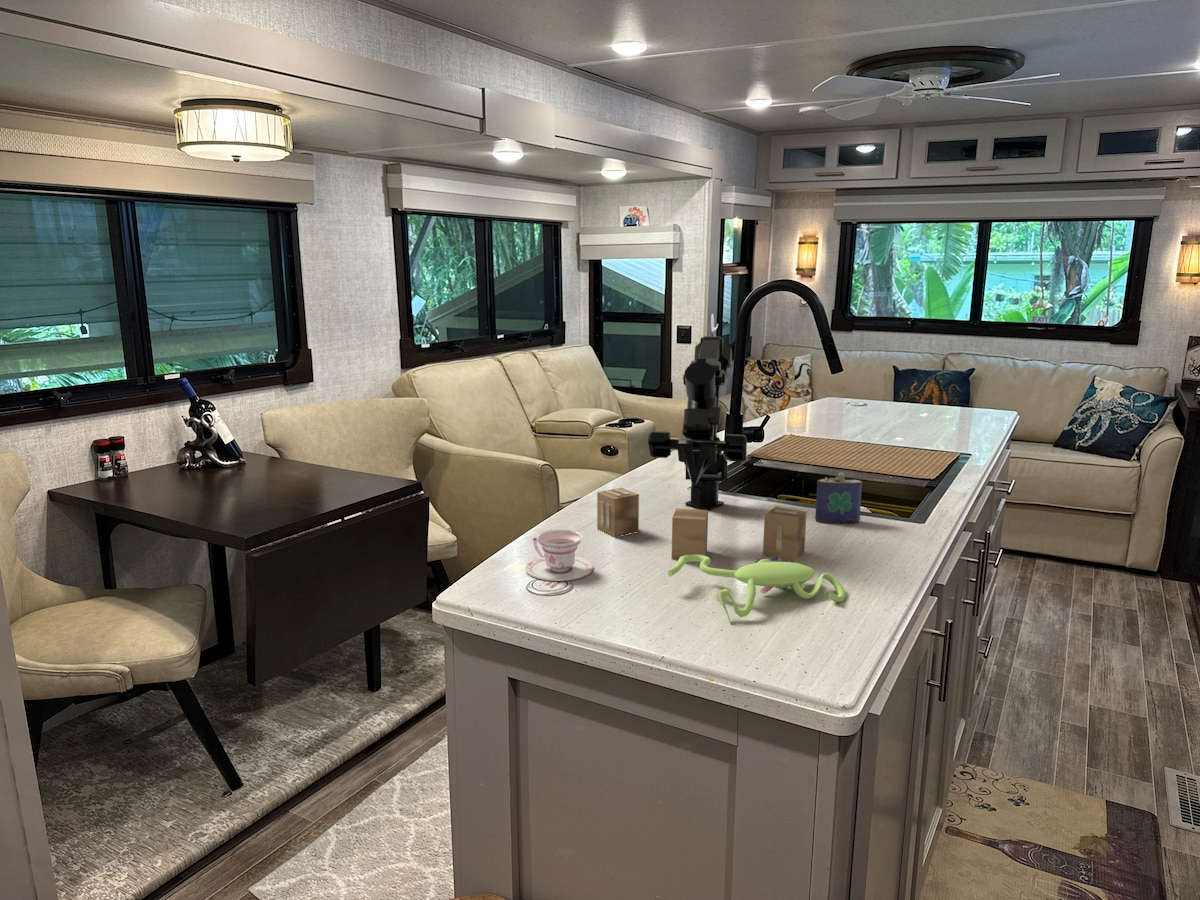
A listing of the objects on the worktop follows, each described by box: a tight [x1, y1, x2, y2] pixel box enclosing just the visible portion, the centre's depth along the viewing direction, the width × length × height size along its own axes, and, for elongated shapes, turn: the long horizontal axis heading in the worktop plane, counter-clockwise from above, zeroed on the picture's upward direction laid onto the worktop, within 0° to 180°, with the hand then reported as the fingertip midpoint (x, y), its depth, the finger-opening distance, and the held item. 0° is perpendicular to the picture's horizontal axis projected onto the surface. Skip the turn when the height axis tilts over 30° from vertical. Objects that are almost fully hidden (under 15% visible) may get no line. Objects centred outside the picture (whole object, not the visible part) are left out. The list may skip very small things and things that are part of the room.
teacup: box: [524, 529, 594, 582], centre depth 144 cm, size 12×12×6 cm
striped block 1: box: [596, 487, 640, 538], centre depth 165 cm, size 6×6×8 cm
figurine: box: [667, 555, 846, 623], centre depth 134 cm, size 18×27×6 cm
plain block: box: [671, 507, 709, 560], centre depth 151 cm, size 6×6×8 cm
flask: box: [814, 472, 863, 525], centre depth 171 cm, size 9×3×11 cm, turn 88°
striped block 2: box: [762, 506, 807, 562], centre depth 152 cm, size 6×6×8 cm
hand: (693, 483), depth 154 cm, fingers closed
